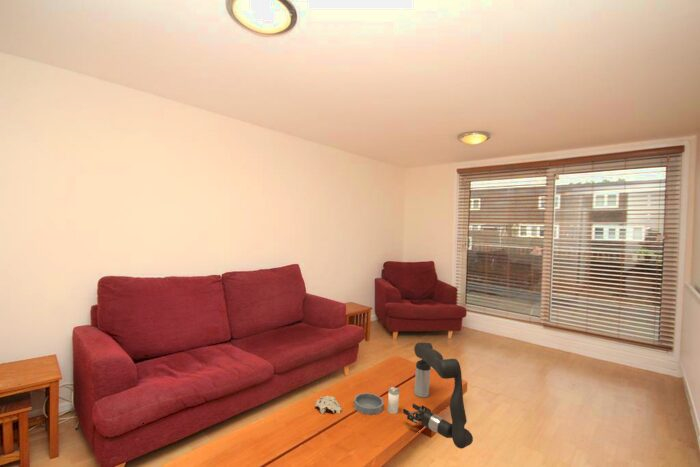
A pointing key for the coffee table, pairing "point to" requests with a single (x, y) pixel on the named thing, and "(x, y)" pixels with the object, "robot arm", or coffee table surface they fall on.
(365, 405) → the bowl
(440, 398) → the coffee table surface
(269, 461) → the coffee table surface
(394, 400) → the pebble cup
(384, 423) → the coffee table surface
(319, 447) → the coffee table surface
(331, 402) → the coral
